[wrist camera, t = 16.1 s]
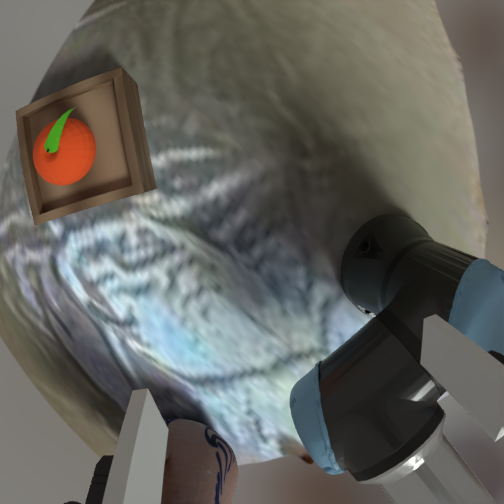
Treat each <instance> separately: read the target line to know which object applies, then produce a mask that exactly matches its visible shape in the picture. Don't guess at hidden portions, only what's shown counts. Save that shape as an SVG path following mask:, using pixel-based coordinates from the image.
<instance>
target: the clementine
mask: <svg viewBox="0 0 504 504" xmlns="http://www.w3.org/2000/svg"><path fill="white" fill-rule="evenodd" d="M73 109H75V108H73ZM73 109H70V110H68V111H67V112H66V113H64V114H63V115H62V116H61V117H60V118H59V119H58V120H56V121H54V122H52V123H50V124H49V125H47V126H46V127H45V128H44V129H43V130H42V131H41V132H40V134H39V135H38V137H37V139H36V141H35V144H34V149H33V162H34V166H35V168H36V170H37V172H38V173H39V175H40V176H41V177H42V178H43V179H44V180H45V181H47V182H49V183H51V184H55V185H61V186H63V185H70V184H72V183H74V182H76V181H78V180H80V179H81V178H83V177H84V176H85V175H86V174H87V173H88V171H89V170H90V169H91V167H92V164H93V162H94V159H95V155H96V142H95V138H94V135H93V133H92V131H91V130H90V128H89V127H87V126H86V125H85V124H84V123H83V122H81V121H79V120H77V119H72V118H67V117H68V115H69V114H70V112H71V111H72V110H73Z"/></svg>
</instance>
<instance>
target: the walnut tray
mask: <svg viewBox="0 0 504 504" xmlns="http://www.w3.org/2000/svg"><path fill="white" fill-rule="evenodd" d="M73 108H75V109H73ZM70 109H73V110H72V111H71V112H70V114H69V115H68V117H67V118H72V119H77V120H79V121H81V122H83V123H84V124H85V125H86V126H87V127H89V128H90V130H91V131H92V133H93V135H94V138H95V142H96V155H95V159H94V162H93V164H92V167H91V169H90V170H89V171H88V173H87V174H86V175H85V176H84V177H83V178H81V179H80V180H78V181H76V182H74V183H72V184H70V185H63V186H61V185H55V184H51V183H49V182H47V181H45V180H44V179H43V178H42V177H41V176H40V175H39V173H38V172H37V170H36V168H35V166H34V162H33V149H34V144H35V141H36V139H37V137H38V135H39V134H40V132H41V131H42V130H43V129H44V128H45V127H46V126H47V125H49V124H50V123H52V122H54V121H56V120H58V119H59V118H60V117H61V116H62V115H63V114H64V113H66V112H67V111H68V110H70ZM16 120H17V130H18V139H19V146H20V154H21V160H22V166H23V172H24V178H25V183H26V188H27V193H28V198H29V203H30V207H31V211H32V216H33V220H34V224H35V225H38V224H41V223H44V222H47V221H50V220H53V219H56V218H59V217H62V216H65V215H68V214H71V213H75V212H78V211H81V210H84V209H88V208H91V207H94V206H97V205H101V204H104V203H108V202H111V201H115V200H118V199H122V198H125V197H129V196H133V195H136V194H140V193H144V192H147V191H150V190H154V189H157V187H156V182H155V178H154V173H153V168H152V163H151V159H150V154H149V149H148V143H147V138H146V133H145V128H144V122H143V117H142V111H141V105H140V99H139V93H138V87H137V84H136V83H135V81H134V80H133V79H132V78H131V77H130V76H129V75H128V74H127V73H126V72H125V70H124V69H123V68H122V67H120V68H117V69H114V70H111V71H108V72H105V73H102V74H100V75H97V76H94V77H91V78H89V79H86V80H83V81H81V82H78V83H76V84H73V85H71V86H68V87H66V88H64V89H61V90H59V91H57V92H55V93H52V94H50V95H48V96H46V97H44V98H41V99H39V100H37V101H35V102H33V103H31V104H29V105H27V106H25V107H23V108H21V109H19V110H17V111H16Z"/></svg>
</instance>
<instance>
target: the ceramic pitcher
mask: <svg viewBox="0 0 504 504" xmlns="http://www.w3.org/2000/svg"><path fill="white" fill-rule="evenodd" d="M164 422H165V424H166V426H167V428H168V429H169V430H168V438H167V447H166V456H165V465H164V474H163V485H162V496H161V504H231V502H232V499H233V496H234V492H235V488H236V484H237V477H238V466H237V461H236V457H235V455H234V452H233V450H232V448H231V447H230V446H229V444H228V443H227V442H226V441H225V440H224V439H223V438H222V437H221V436H220V435H219V434H218V433H217V432H216V431H214V430H213V429H212V428H211V427H208V426H206V425H204V424H202V423H199V422H196V421H192V420H189V419H188V420H185V419H180V418H178V419H177V418H176V419H166V420H164Z"/></svg>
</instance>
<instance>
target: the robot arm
mask: <svg viewBox="0 0 504 504" xmlns="http://www.w3.org/2000/svg"><path fill="white" fill-rule="evenodd" d="M341 278H342V284H343V288H344V291H345V293H346V295H347V297H348V298H349V300H350V301H351V302H352V303H353V304H354V305H355V306H356V307H357V308H358V309H359V310H360V311H361V312H363V313H364V314H366V315H368V316H371V317H374V318H372V319H371V320H370V321H369V322H368V323H367V324H366V325H365V326H364V327H362V328H361V329H360V330H359V331H358V332H357V333H356V334H354V335H353V336H352V337H351V338H350V339H349V340H347V341H346V342H345V343H344V344H343V345H341V346H340V347H339V348H338V349H337V350H335V351H334V352H333V353H332V354H331V355H329V356H328V357H327V358H326V359H324V360H323V361H319V362H317V364H316V365H315V367H314V368H313V369H312V370H311V371H310V372H309V373H307V374H306V375H305V376H304V377H303V378H301V379H300V380H299V381H298V382H297V383H296V384H295V385H294V387H293V388H292V391H291V394H290V409H291V415H292V419H293V422H294V425H295V428H296V430H297V433H298V435H299V437H300V439H301V441H302V443H303V445H304V447H305V448H306V450H307V451H308V453H309V455H310V456H311V457H312V459H313V460H314V461H315V463H316V464H317V465H318V466H319V467H321V468H323V469H324V471H325V472H327V473H329V474H332V475H335V474H339V473H340V474H341V473H344V472H345V471H346V470H348V471H349V472H350V473H351V474H352V476H353V477H354V478H355V479H356V480H357V481H358V482H359V483H370V484H378V485H379V486H380V487H381V488H382V489H383V490H384V491H385V493H386V494H387V495H388V496H389V498H390V499H391V500H392V501H393V502H394V504H496V503H495V501H494V500H493V499H492V497H491V496H490V494H489V493H488V492H487V490H486V489H485V488H484V486H483V485H482V484H481V482H480V481H479V480H478V478H477V477H476V476H475V474H474V473H473V472H472V470H471V469H470V468H469V466H468V465H467V464H466V462H465V461H464V460H463V459H462V457H461V456H460V454H459V453H458V452H457V451H456V449H455V448H454V447H453V446H452V444H451V443H450V442H449V440H448V439H447V438H446V437H445V435H444V434H443V427H444V422H445V418H446V413H445V411H444V410H443V409H442V408H441V406H440V405H439V404H438V403H437V400H438V399H439V398H440V397H441V396H442V395H443V394H444V393H445V392H446V391H448V392H449V394H450V395H451V396H452V397H453V398H454V399H455V400H456V401H457V402H458V403H459V404H460V405H461V406H462V407H463V408H464V409H465V410H466V411H467V412H468V413H469V415H470V416H472V418H473V419H474V420H475V421H476V422H477V423H478V424H479V425H480V426H481V427H482V428H483V430H484V431H485V432H486V433H487V434H488V435H489V436H490V437H491V438H492V439H493V440H494V441H497V440H498V439H499V438H501V437H502V436H504V271H503V270H502V269H500V268H498V267H497V266H495V265H493V264H491V263H490V262H489V261H487V260H486V259H481V258H477V257H475V256H472V255H469V254H467V253H464V252H462V251H459V250H457V249H454V248H451V247H449V246H446V245H444V244H441V243H438V242H435V241H434V240H433V239H432V238H431V237H430V236H429V234H428V233H427V231H426V230H425V229H424V228H423V227H422V226H421V225H420V224H418V223H417V222H415V221H414V220H412V219H409V218H406V217H403V216H399V215H383V216H380V217H377V218H374V219H372V220H371V221H369V222H367V223H366V224H365V225H363V226H362V227H361V228H360V229H359V230H358V231H357V232H356V234H355V235H354V236H353V238H352V239H351V241H350V242H349V244H348V246H347V248H346V251H345V254H344V257H343V261H342V267H341ZM168 430H169V429H168V428H167V426H166V424H165V422H164V420H163V418H162V416H161V414H160V412H159V410H158V408H157V406H156V404H155V402H154V400H153V398H152V396H151V393H150V391H149V389H148V388H147V389H139V390H133V391H132V395H131V398H130V401H129V404H128V408H127V411H126V414H125V418H124V421H123V425H122V428H121V432H120V435H119V439H118V442H117V446H116V450H115V453H114V455H112V456H103V457H102V458H101V459H100V461H99V462H98V463H97V464H96V467H95V471H94V476H93V478H92V481H91V483H92V484H91V485H90V488H89V492H88V495H87V499H86V503H85V504H161V496H162V485H163V474H164V465H165V456H166V447H167V438H168ZM64 504H81V503H79V502H74V501H70V502H67V503H64Z"/></svg>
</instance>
